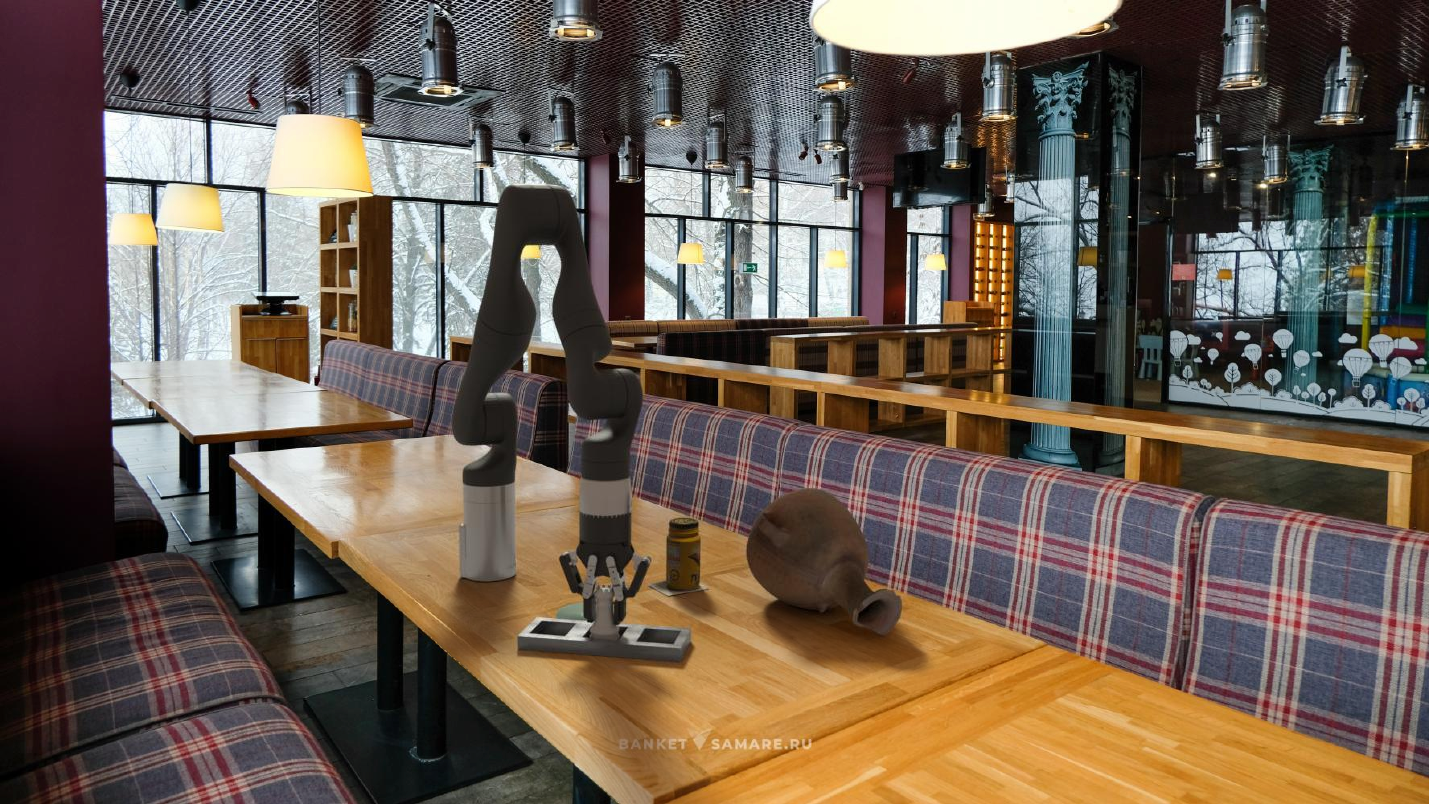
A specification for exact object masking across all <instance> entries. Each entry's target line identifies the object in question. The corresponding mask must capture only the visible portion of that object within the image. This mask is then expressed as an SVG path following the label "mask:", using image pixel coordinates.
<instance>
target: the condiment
mask: <svg viewBox="0 0 1429 804" xmlns="http://www.w3.org/2000/svg"><path fill="white" fill-rule="evenodd" d="M699 532H700V530H699V521H698V520H697V519H695V518H693V517H675V518H671V519H670V520H669V523H668V533H667V536H666V541H665V542H666V549H665V550H666V552H665V553H666V554H665V555H666V557H665V559H666V560H665V562H666V563H665V580H662V581H659V582H658V581H657V582H649V583H647V585H648V586H649V587H651V588H653V589H654V590H656V591H657V592H659V593H662V594H663V595H665V596H667V597H670V596H674V595H675V596H677V595H680V594H681V595H682V594H685V593H694V592H698V591H703V590H709V589H710V587H709V586H706V585H704V584H701V583H700V582H701V544H702V543H701V539H702V538H701V535H700V534H699Z"/></svg>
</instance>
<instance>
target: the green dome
mask: <svg viewBox="0 0 1429 804" xmlns="http://www.w3.org/2000/svg"><path fill="white" fill-rule="evenodd" d="M596 609H597V606H596ZM613 613H614V605H613ZM555 619H568V620H582V621H587V619H585V618H584V616H583V601H581V602H576V603H570V604H567V605H564V606H562V607H560V608H558V609H557V611H556V617H555ZM594 621H595V620H594Z"/></svg>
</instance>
